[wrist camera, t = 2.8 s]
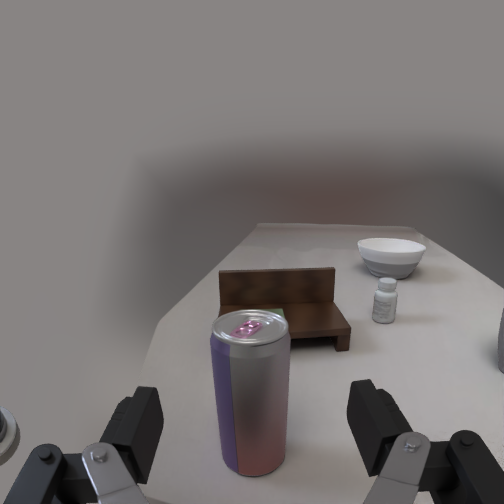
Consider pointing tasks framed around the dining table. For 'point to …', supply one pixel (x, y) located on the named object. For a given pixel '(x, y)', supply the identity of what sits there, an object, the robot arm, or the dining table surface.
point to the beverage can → (251, 388)
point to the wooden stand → (289, 300)
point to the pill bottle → (385, 301)
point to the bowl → (390, 256)
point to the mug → (501, 344)
